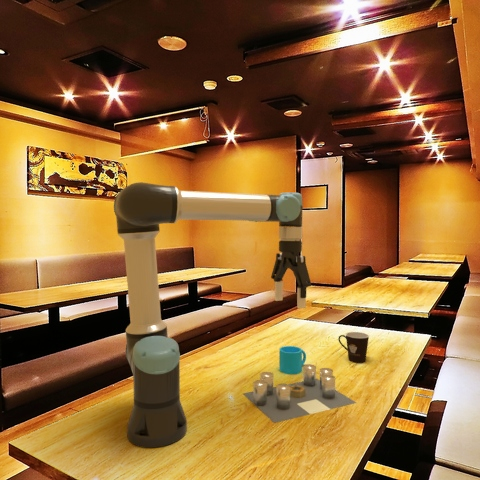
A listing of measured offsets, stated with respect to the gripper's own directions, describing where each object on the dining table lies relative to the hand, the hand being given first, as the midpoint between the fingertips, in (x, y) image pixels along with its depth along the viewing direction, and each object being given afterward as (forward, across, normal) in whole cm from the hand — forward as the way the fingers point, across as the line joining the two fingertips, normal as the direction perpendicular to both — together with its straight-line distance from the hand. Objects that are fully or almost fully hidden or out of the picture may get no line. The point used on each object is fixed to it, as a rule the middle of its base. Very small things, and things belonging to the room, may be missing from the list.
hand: (289, 304), depth 130 cm
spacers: (+27, -9, +4) cm, 28 cm away
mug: (+27, +10, -9) cm, 30 cm away
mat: (+27, -11, +4) cm, 29 cm away
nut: (+26, -9, +3) cm, 28 cm away
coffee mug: (+27, +9, -37) cm, 46 cm away
